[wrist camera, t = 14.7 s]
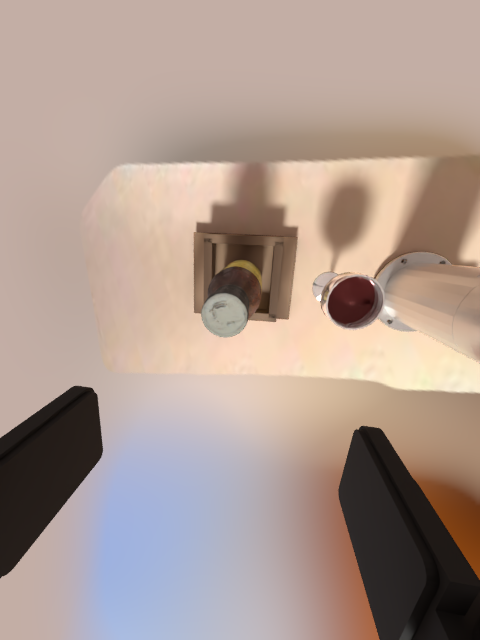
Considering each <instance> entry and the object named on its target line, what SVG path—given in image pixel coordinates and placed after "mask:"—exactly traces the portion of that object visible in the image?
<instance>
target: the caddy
mask: <svg viewBox="0 0 480 640" xmlns="http://www.w3.org/2000/svg"><path fill="white" fill-rule="evenodd" d="M297 239H298V237H284V236H263V235H242V234H220V233H199V232H194V313H201V310H202V307H203V305H204V303H205V301H206V299H207V298H208V287H209V284H210V282H211V280H212V279H213V277H214V276H215V275H216V274H217V273H218V272H220V271H221V270H222V269H223V268H225V267H226V266H227V265H228V264H230V263H231V262H234V261H236V260H246V261H249V262H251V263H253V264H254V265H256V267H257V268H258V269H259V271H260V273H261V277H262V294H261V300H260V304H259V306H258V308H257V310H256V312H255V313H254V314H253V315H252V316H251V317H250V318H249V319H248V320H255V321H269V322H276V319H289V311H290V302H291V293H292V284H293V275H294V266H295V257H296V248H297Z"/></svg>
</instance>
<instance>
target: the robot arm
mask: <svg viewBox="0 0 480 640" xmlns="http://www.w3.org/2000/svg"><path fill="white" fill-rule="evenodd" d="M401 260H402V262H401ZM375 280H376V281H377V282H378V283H379V284H380V285H381V286H382V289H383V291H384V293H385V304H384V308H383V311H382V312H381V314H380V316H379V317H378V319H379V320H380V321H381V322H382V323H383V324H385V325H386V326H388V327H390V328H392V329H394V330H398V331H405V332H411V331H419V332H420V333H422V334H424V335H426V336H428V337H430V338H432V339H434V340H436V341H438V342H440V343H441V344H443V345H445V346H447V347H449V348H451V349H453V350H455V351H457V352H459V353H460V354H462V355H464V356H466V357H468V358H470V359H472V360H474V361H476V362H478V363H480V267H471V266H459V265H452V264H451V263H450V262H449V261H448V260H447V259H445V258H444V257H442V256H440V255H438V254H435V253H430V252H412V253H408V254H404V255H401V256H399V257H397V258H395V259H393V260H392V261H391V262H389V263H388V264H387V265H386V266H385V267H384V268H383V269H382V270H381V271H380V272H379V274H378V275H377V276H376V278H375ZM102 452H103V446H102V436H101V427H100V417H99V407H98V397H97V394H96V393H95V392H94V390H93V389H92V388H89V387H82V386H74V387H72V388H70V389H69V390H68V391H66V392H65V393H63V394H62V395H60V396H59V397H58V398H56V399H55V400H53V401H52V402H51V403H49V404H48V405H46V406H45V407H43V408H42V409H41V410H39V411H38V412H36V413H35V414H34V415H32V416H31V417H29V418H28V419H27V420H25V421H24V422H22V423H21V424H19V425H18V426H17V427H15V428H14V429H12V430H11V431H10V432H8V433H7V434H6V435H4V436H2V437H1V438H0V578H1V577H2V576H5V575H7V574H8V573H9V572H10V571H11V570H12V569H13V568H14V567H15V566H16V564H17V563H18V562H19V561H20V559H21V558H22V557H23V556H24V554H25V553H26V552H27V551H28V549H29V548H30V547H31V545H32V544H33V543H34V542H35V540H36V539H37V538H38V537H39V536H40V534H41V533H42V532H43V530H44V529H45V528H46V527H47V525H48V524H49V523H50V521H51V520H52V519H53V518H54V517H55V515H56V514H57V513H58V512H59V510H60V509H61V508H62V506H63V505H64V504H65V503H66V501H67V500H68V499H69V498H70V496H71V495H72V494H73V493H74V491H75V490H76V489H77V488H78V486H79V485H80V484H81V483H82V481H83V480H84V479H85V478H86V476H87V475H88V474H89V473H90V471H91V470H92V469H93V468H94V466H95V465H96V464H97V462H98V461H99V460H100V458H101V456H102ZM339 500H340V504H341V507H342V511H343V514H344V518H345V521H346V525H347V528H348V532H349V535H350V538H351V542H352V545H353V549H354V552H355V556H356V559H357V563H358V566H359V570H360V573H361V576H362V579H363V583H364V587H365V590H366V594H367V597H368V601H369V604H370V608H371V611H372V614H373V618H374V621H375V625H376V628H377V632H378V635H379V639H380V640H480V580H479V579H478V577H477V575H476V574H475V572H474V571H473V569H472V568H471V566H470V564H469V563H468V561H467V560H466V558H465V557H464V555H463V554H462V552H461V551H460V549H459V547H458V546H457V544H456V543H455V542H454V540H453V538H452V537H451V535H450V533H449V532H448V530H447V529H446V528H445V526H444V524H443V522H442V521H441V519H440V518H439V516H438V515H437V513H436V512H435V510H434V509H433V507H432V505H431V504H430V502H429V501H428V499H427V498H426V496H425V494H424V493H423V491H422V490H421V488H420V487H419V485H418V484H417V483H416V481H415V480H414V479H413V478H412V476H411V475H410V473H409V472H408V470H407V469H406V467H405V466H404V464H403V462H402V461H401V459H400V458H399V456H398V454H397V453H396V451H395V450H394V448H393V447H392V445H391V443H390V442H389V440H388V439H387V437H386V436H385V434H384V432H383V431H382V430H381V429H380V428H374V427H368V426H361V427H360V428H359V430H355V431H354V433H353V437H352V441H351V445H350V448H349V452H348V456H347V459H346V463H345V467H344V470H343V475H342V478H341V482H340V486H339Z"/></svg>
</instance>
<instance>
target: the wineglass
mask: <svg viewBox="0 0 480 640" xmlns="http://www.w3.org/2000/svg"><path fill="white" fill-rule="evenodd" d="M312 289H313V294H314V295H315V297H316V298H317V299H318V300H320V302H321V308H322V310H323V312H324V314H325V315H326V316H327V317H328V318H329V319H330V320H331V321H332V322H333V323H334V324H335V325H337V326H339V327H341V328H343V329H348V330H357V329H362V328H364V327H366V326H368V325H371V324H372V323H373V322H374V321H375V320H376V319H377V318H378V317H379V316H380V314H381V312H382V311H383V308H384V304H385V293H384V291H383V289H382V286H381V285H380V284H379V283H378V282H377V281H376V280H375V279H374V278H372V277H369V276H367V275H363V274H361V273H355V272H347V273H343V274H339V275H338V274H336V273H333V272H326V273H323V274H321V275H319V276H318V277H317V278H316V279H315V281H314V283H313V288H312Z"/></svg>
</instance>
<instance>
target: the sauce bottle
mask: <svg viewBox="0 0 480 640" xmlns="http://www.w3.org/2000/svg"><path fill="white" fill-rule="evenodd" d="M261 294H262V277H261V273H260V271H259V269H258V268H257V267H256V265H254V264H253V263H251V262H249V261H246V260H236V261H234V262H231V263H230V264H228V265H227V266H226V267H225V268H223V269H222V270H221V271H220V272H218V273H217V274H216V275H215V276H214V277H213V279H212V280H211V282H210V284H209V287H208V298H207V299H206V301H205V303H204V305H203V307H202V310H201V316H202V320H203V323H204V325H205V327H206V328H207V329H208V330H209V331H210V332H211V333H213V334H214V335H217V336H219V337H232V336H235V335H237V334H239V333H240V332H241V331H242V330H243V329H244V327H245V326H246V324H247V321H248V319H249V318H250V317H251V316H252V315H253V314H254V313H255V312H256V310H257V308H258V306H259V304H260V300H261Z"/></svg>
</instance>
